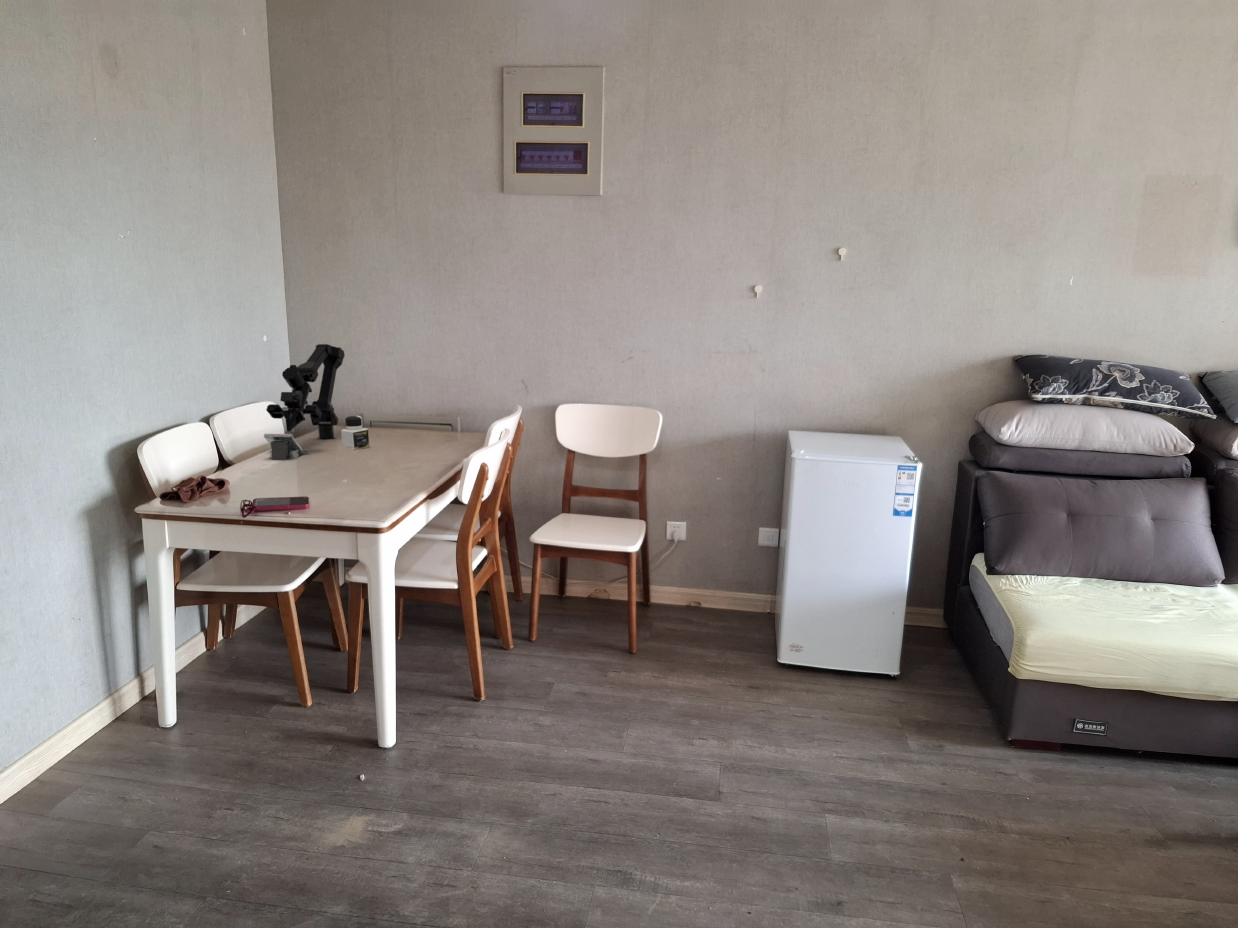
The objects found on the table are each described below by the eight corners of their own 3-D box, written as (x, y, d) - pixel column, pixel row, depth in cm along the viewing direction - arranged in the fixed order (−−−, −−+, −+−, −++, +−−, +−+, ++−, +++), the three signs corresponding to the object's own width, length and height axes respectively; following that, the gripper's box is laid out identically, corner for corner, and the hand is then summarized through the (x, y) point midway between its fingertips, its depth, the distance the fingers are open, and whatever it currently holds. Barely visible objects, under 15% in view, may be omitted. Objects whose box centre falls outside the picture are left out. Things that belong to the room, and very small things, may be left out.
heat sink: (274, 453, 303) (272, 436, 302) (309, 454, 302) (307, 436, 301) (261, 460, 294) (259, 441, 293) (297, 460, 293) (295, 442, 291)
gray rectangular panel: (278, 453, 303) (279, 451, 303) (304, 454, 302) (305, 451, 302) (263, 436, 292) (264, 433, 293) (290, 437, 291) (291, 434, 292)
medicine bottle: (354, 450, 312) (351, 419, 309) (342, 448, 316) (339, 417, 313) (369, 446, 318) (367, 416, 315) (357, 444, 322) (355, 414, 319)
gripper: (265, 382, 301) (253, 418, 294) (315, 383, 300) (304, 419, 292) (278, 400, 311) (267, 435, 303) (326, 400, 309) (316, 435, 301)
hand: (288, 431), depth 300 cm, fingers closed
